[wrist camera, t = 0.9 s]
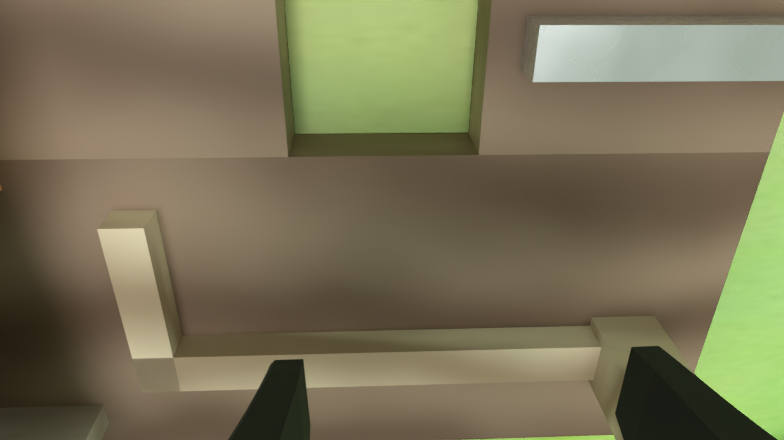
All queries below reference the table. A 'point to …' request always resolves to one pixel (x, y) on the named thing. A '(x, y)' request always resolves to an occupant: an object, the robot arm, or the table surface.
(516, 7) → the deck
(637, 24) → the straight rod
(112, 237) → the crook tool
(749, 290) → the table surface
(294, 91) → the table surface
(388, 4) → the table surface
